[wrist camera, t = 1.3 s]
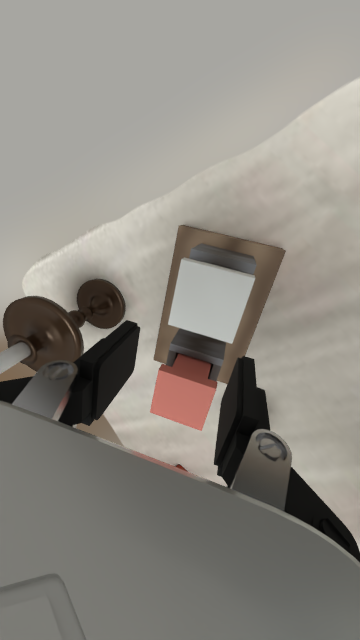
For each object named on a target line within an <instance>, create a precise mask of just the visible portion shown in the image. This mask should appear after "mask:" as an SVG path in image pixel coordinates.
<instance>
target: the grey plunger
mask: <svg viewBox="0 0 360 640" xmlns="http://www.w3.org/2000/svg"><path fill="white" fill-rule="evenodd" d="M254 281H255V275H251V274H247V273H243V272H240V271H238V270H234V269H230V268H226V267H222V266H218V265H214V264H211V263H207V262H203V261H202V262H200V261H196V260H192V259H189V258H185V257H184V258H183V259H181V263H180V268H179V273H178V278H177V283H176V288H175V292H174V297H173V302H172V307H171V312H170V317H169V322H168V325H171V326H175V327H178V328H181V329H185V330H188V331H191V332H195V333H198V334H201V335H205V336H208V337H211V338H214V339H218V340H221V341H224V342H228V343H231V344H232V343H233V340H234V337H235V335H236V332H237V329H238V326H239V323H240V320H241V318H242V315H243V312H244V309H245V306H246V303H247V301H248V298H249V295H250V292H251V289H252V286H253V284H254Z"/></svg>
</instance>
